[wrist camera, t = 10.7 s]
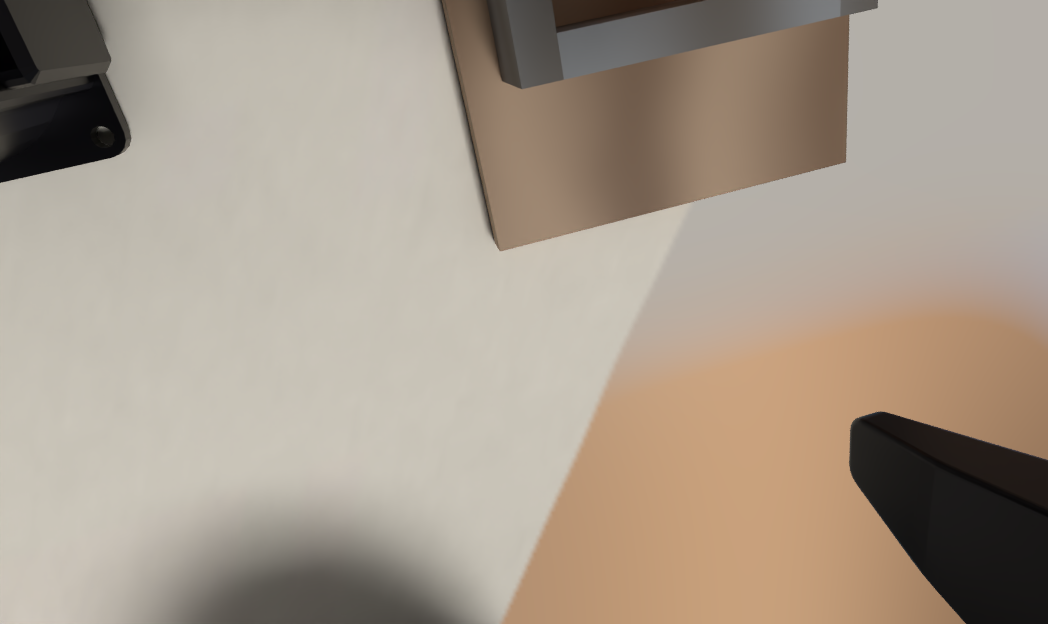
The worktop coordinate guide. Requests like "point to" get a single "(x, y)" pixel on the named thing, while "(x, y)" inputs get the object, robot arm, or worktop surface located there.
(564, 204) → the end holder
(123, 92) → the worktop surface
